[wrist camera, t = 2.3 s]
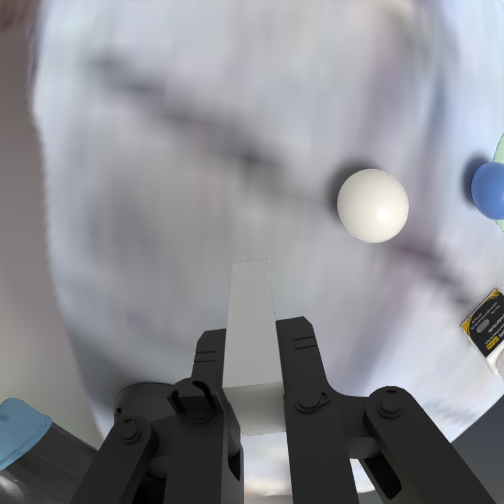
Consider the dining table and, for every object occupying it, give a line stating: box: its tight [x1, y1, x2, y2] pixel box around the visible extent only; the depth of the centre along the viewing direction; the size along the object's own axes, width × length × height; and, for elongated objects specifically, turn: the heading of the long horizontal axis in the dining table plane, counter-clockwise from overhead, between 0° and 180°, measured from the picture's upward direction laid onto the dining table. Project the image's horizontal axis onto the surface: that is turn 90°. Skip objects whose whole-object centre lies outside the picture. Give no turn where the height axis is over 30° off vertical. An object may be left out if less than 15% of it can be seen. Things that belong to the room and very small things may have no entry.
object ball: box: [471, 162, 504, 220], centre depth 20 cm, size 6×6×6 cm
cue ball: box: [337, 169, 409, 243], centre depth 21 cm, size 6×6×6 cm
